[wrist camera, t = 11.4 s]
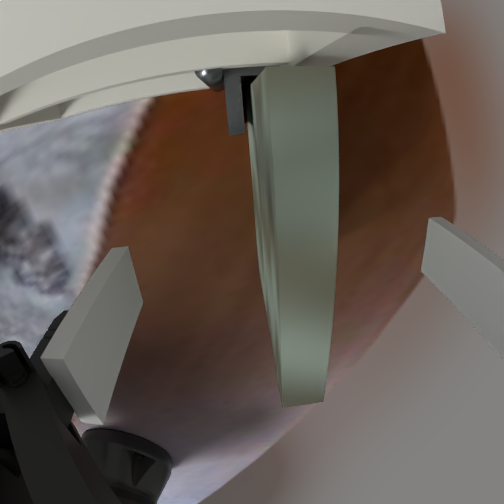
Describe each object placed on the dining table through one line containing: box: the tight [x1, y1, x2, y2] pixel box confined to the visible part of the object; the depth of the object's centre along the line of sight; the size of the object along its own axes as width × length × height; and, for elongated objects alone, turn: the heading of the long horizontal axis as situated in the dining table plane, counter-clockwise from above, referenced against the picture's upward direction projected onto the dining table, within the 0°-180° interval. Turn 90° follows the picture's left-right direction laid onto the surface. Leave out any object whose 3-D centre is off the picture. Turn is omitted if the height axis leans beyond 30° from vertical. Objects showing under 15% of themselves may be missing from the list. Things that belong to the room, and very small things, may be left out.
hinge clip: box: [195, 65, 281, 135], centre depth 16 cm, size 4×6×9 cm
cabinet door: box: [245, 66, 339, 408], centre depth 17 cm, size 14×3×14 cm, turn 4°
